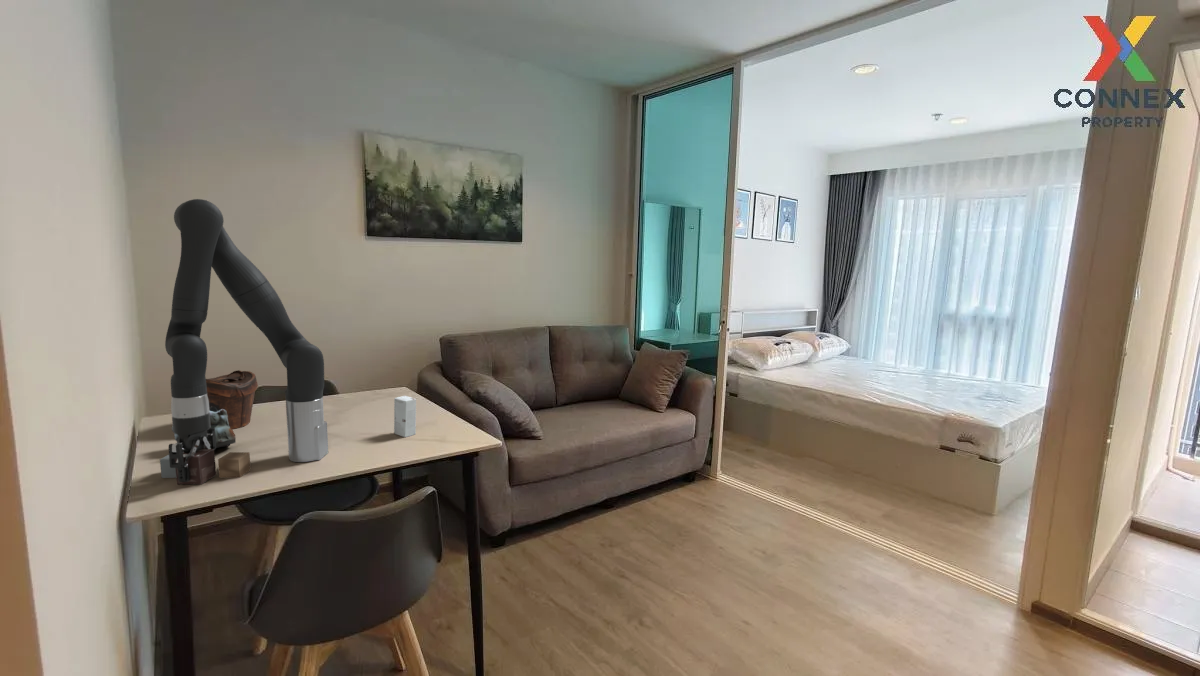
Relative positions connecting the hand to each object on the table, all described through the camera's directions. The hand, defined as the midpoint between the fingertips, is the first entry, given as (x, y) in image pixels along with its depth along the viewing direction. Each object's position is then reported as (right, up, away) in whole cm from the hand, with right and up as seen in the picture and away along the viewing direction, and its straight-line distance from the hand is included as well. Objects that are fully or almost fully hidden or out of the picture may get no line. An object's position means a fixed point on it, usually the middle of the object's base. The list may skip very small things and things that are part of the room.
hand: (195, 474), depth 137 cm
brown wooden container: (-21, +6, +43) cm, 49 cm away
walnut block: (+7, -1, +5) cm, 8 cm away
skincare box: (+39, +3, +39) cm, 55 cm away
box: (0, -2, 0) cm, 2 cm away
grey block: (-7, -1, +4) cm, 8 cm away
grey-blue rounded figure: (-12, +2, +19) cm, 22 cm away
